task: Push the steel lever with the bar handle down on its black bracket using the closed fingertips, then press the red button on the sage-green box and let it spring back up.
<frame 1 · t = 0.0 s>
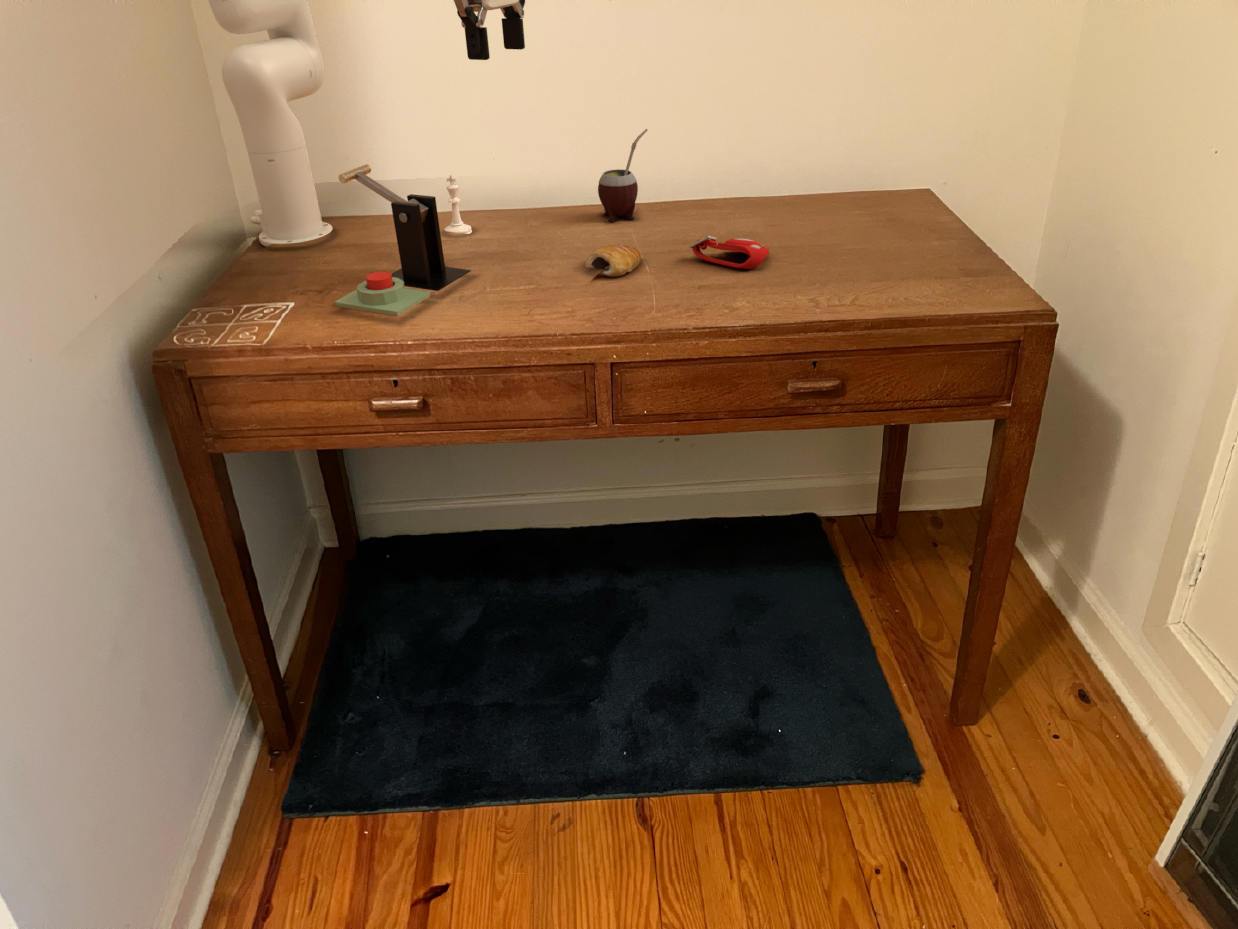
hand: (497, 53, 129), 31 cm above the table, tool pointing down, fingers open, 9 cm apart
mate gourd: (621, 218, 166), on the table
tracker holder: (731, 261, 145), on the table
lever: (386, 193, 135), point 13 cm above the table, hinge at 26.0°
chess piece: (458, 233, 161), on the table
pastry: (613, 270, 143), on the table
button box: (384, 307, 132), on the table
bracket: (425, 282, 140), on the table
button: (379, 281, 130), point 4 cm above the table, slide at 0.1 cm
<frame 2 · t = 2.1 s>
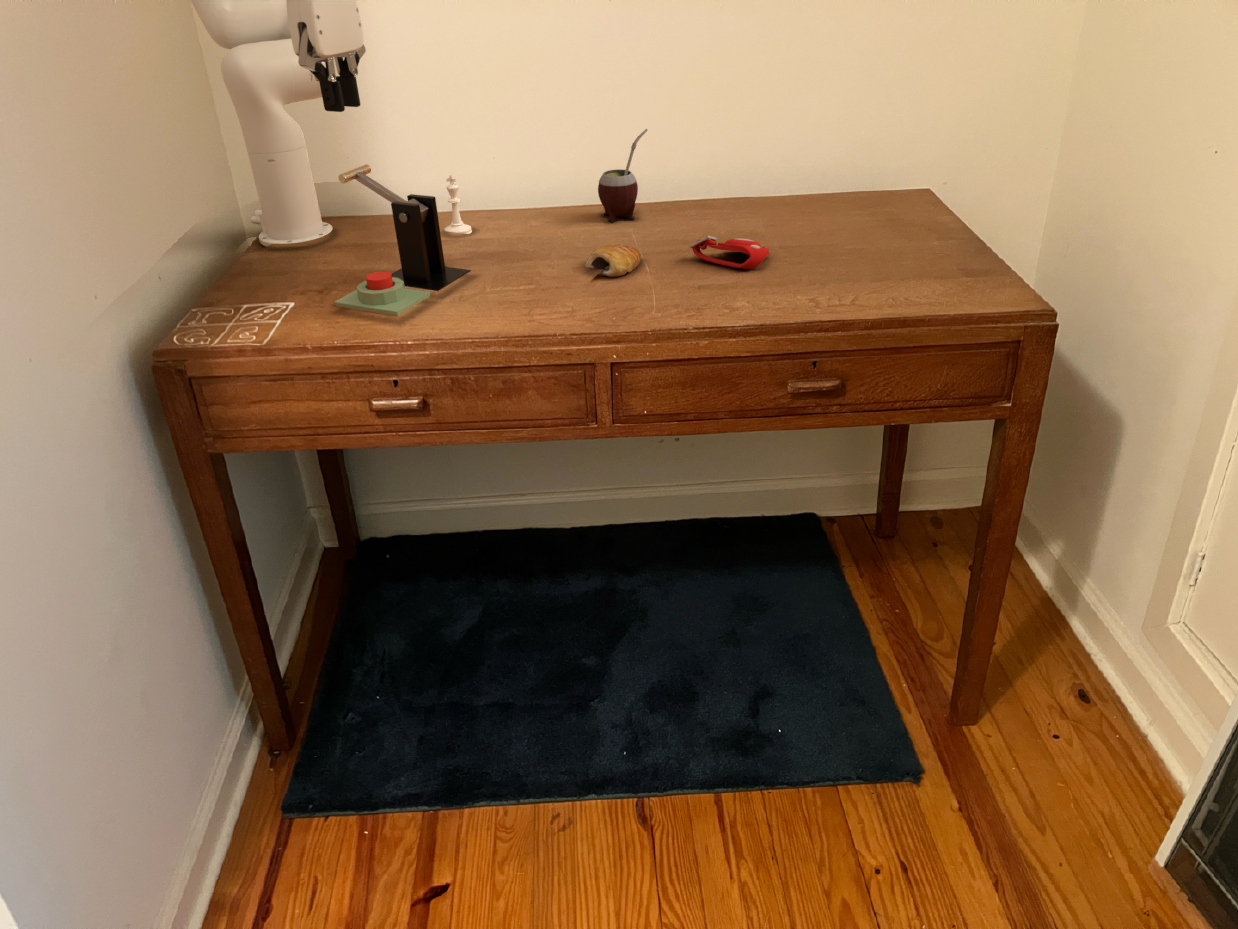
hand: (342, 107, 131), 25 cm above the table, tool pointing down, fingers closed
nothing on the table moved.
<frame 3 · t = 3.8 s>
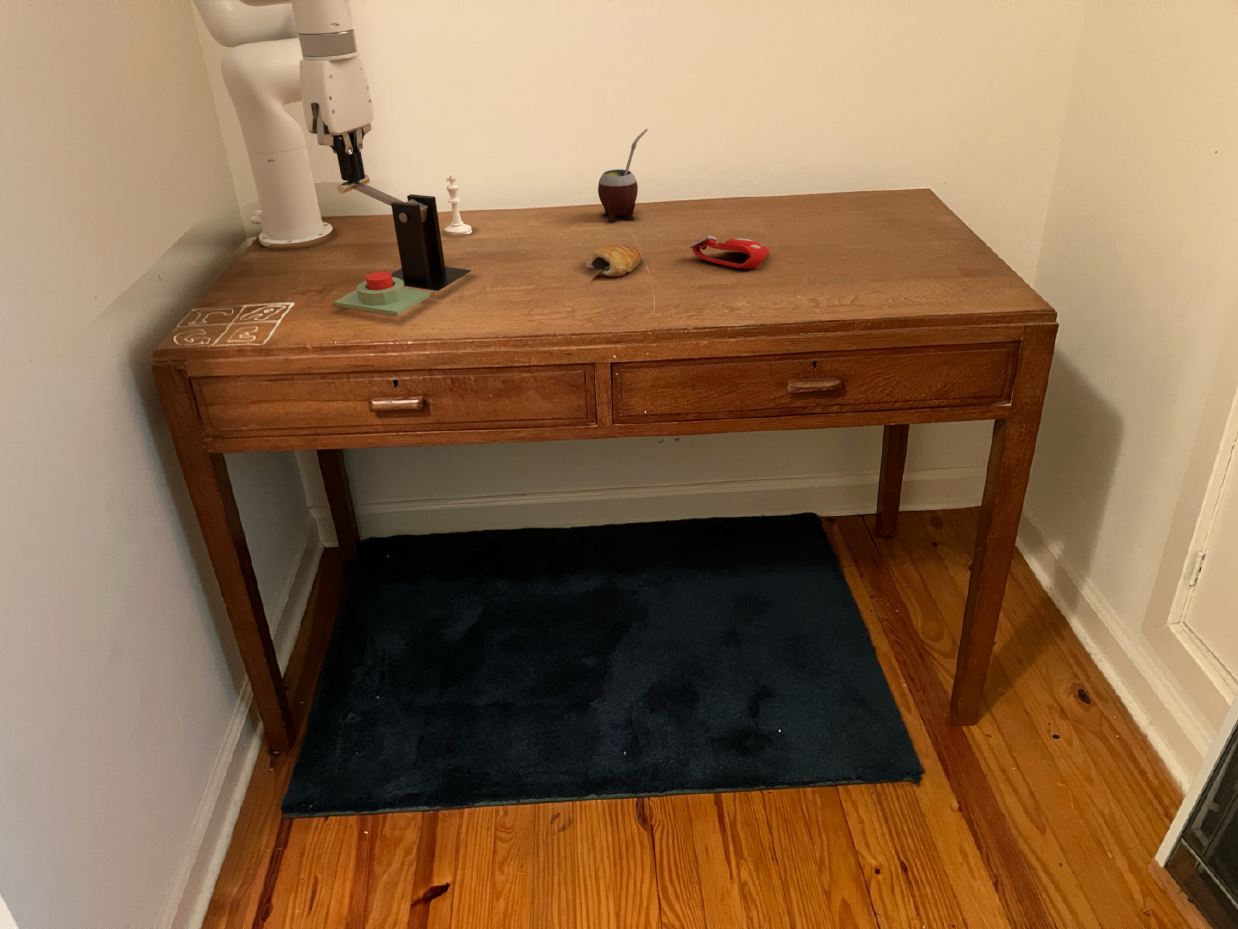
hand: (353, 179, 136), 15 cm above the table, tool pointing down, fingers closed
lever: (386, 198, 136), point 13 cm above the table, hinge at 17.3°, touching gripper
everything else where it was.
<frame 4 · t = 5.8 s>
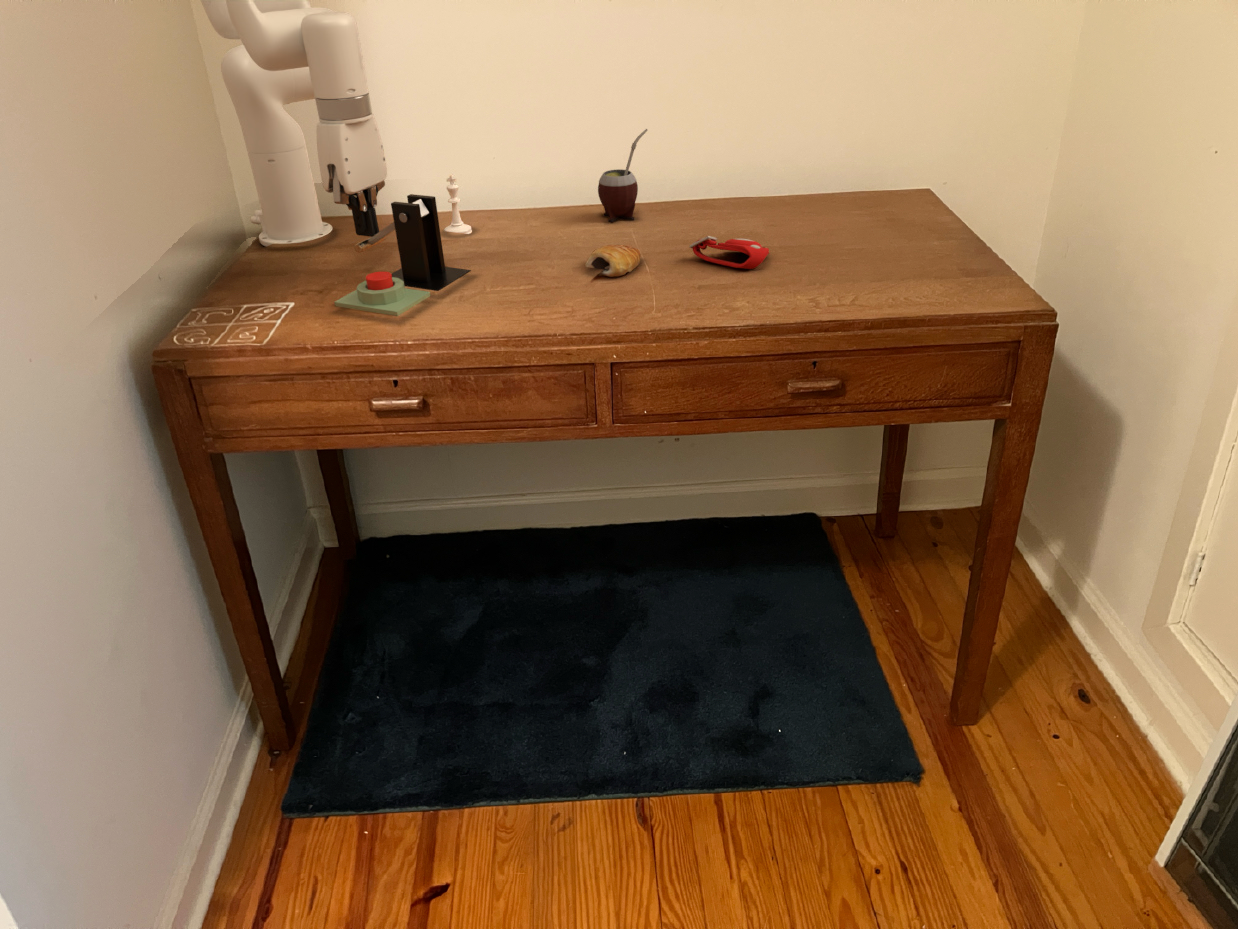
hand: (368, 234, 140), 7 cm above the table, tool pointing down, fingers closed
lever: (393, 226, 138), point 8 cm above the table, hinge at -30.8°, touching gripper
everything else where it was.
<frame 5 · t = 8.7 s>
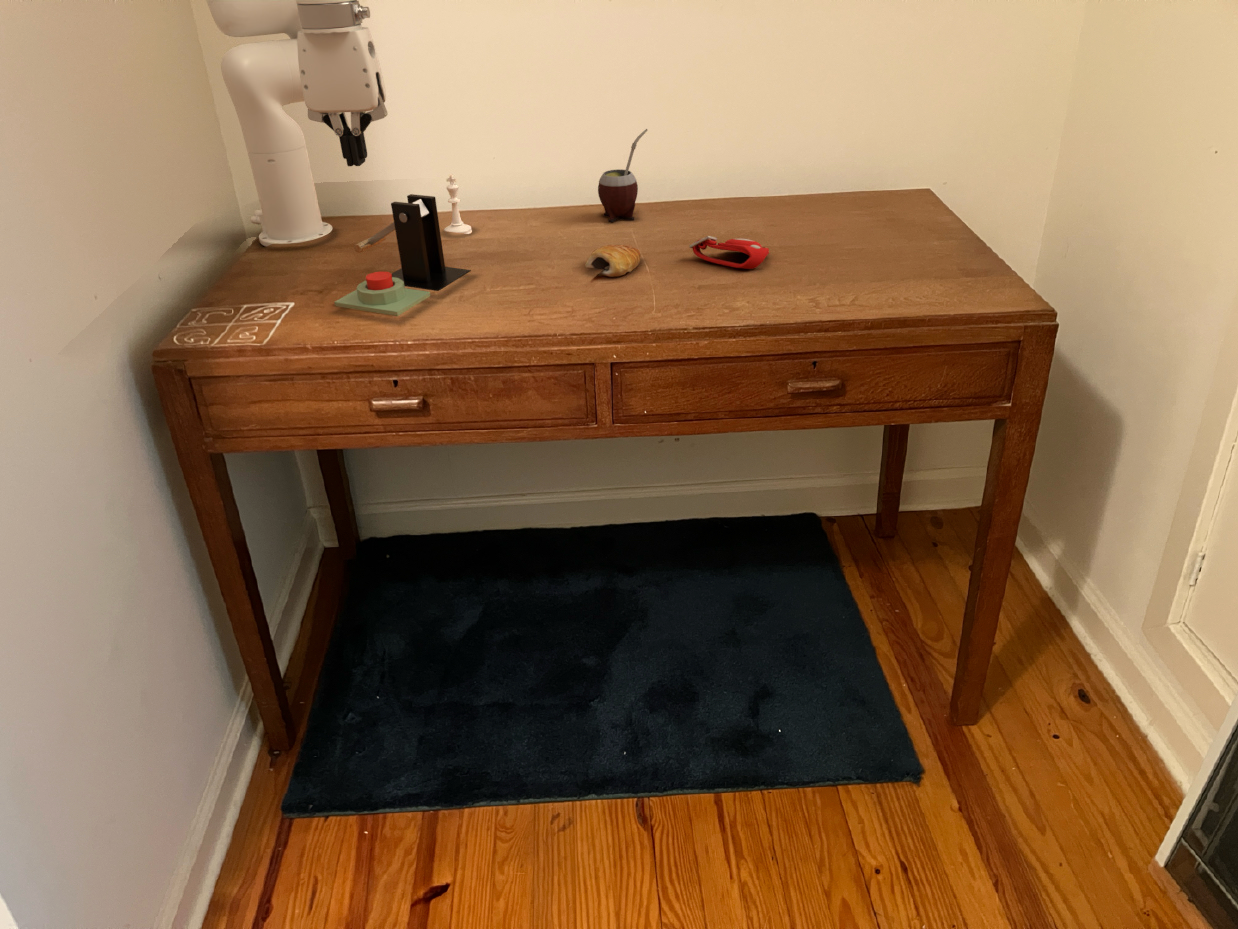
hand: (356, 163, 127), 19 cm above the table, tool pointing down, fingers closed
lever: (393, 226, 138), point 8 cm above the table, hinge at -30.8°
everything else where it was.
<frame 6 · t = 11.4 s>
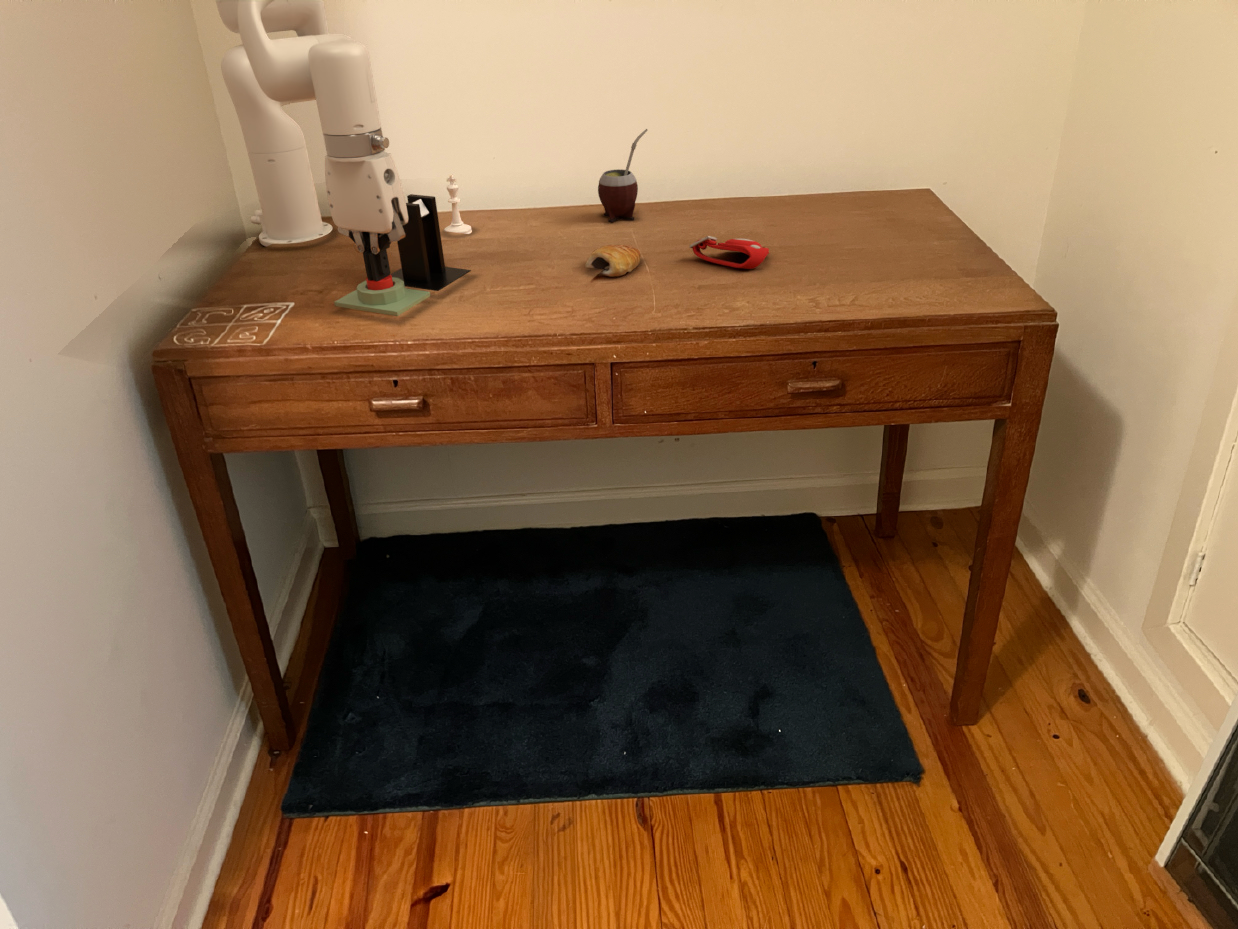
hand: (379, 277, 130), 5 cm above the table, tool pointing down, fingers closed
button: (379, 283, 130), point 4 cm above the table, slide at -0.1 cm, touching gripper
everything else where it was.
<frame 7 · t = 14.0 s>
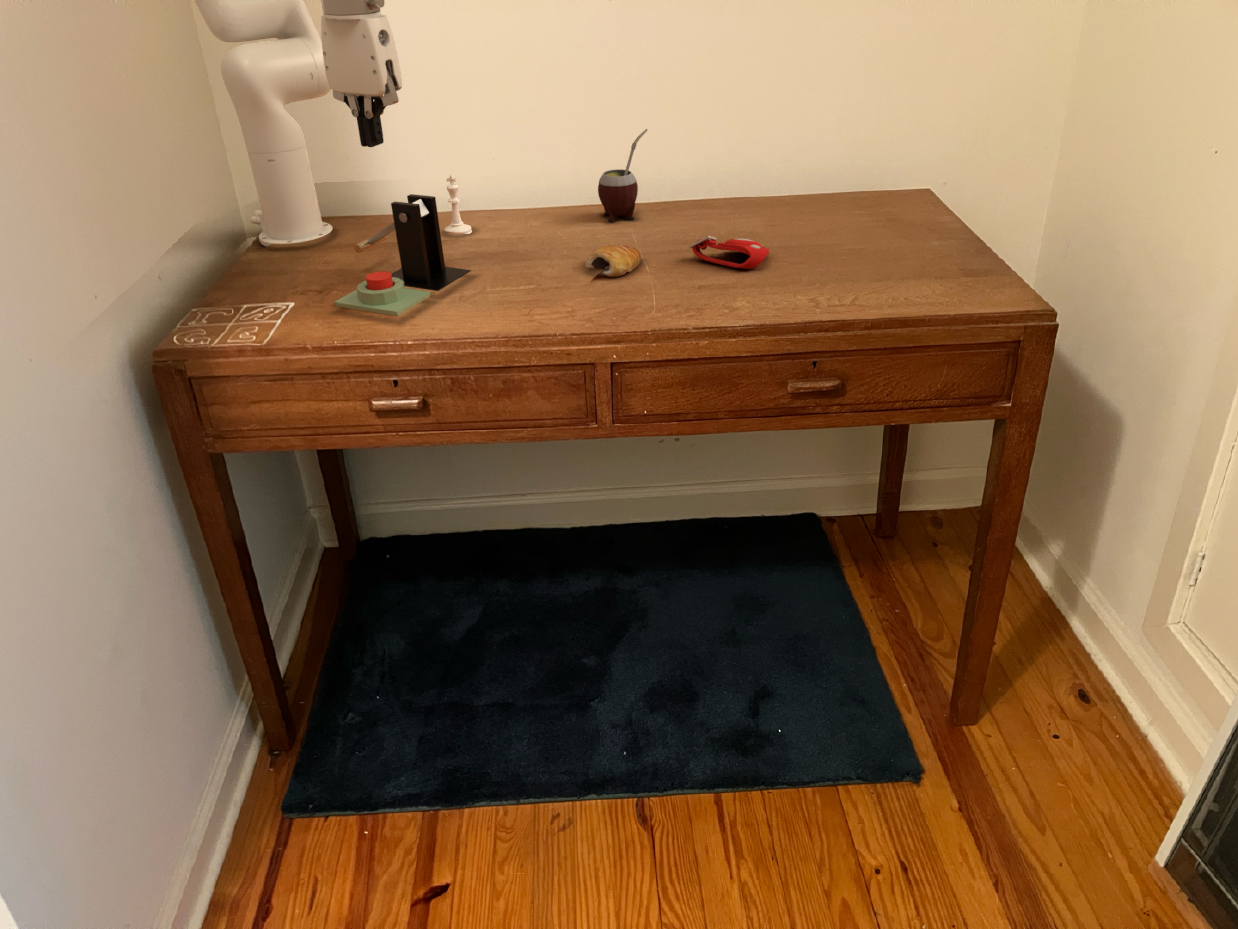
hand: (372, 144, 133), 20 cm above the table, tool pointing down, fingers closed
button: (379, 281, 130), point 4 cm above the table, slide at 0.1 cm
everything else where it was.
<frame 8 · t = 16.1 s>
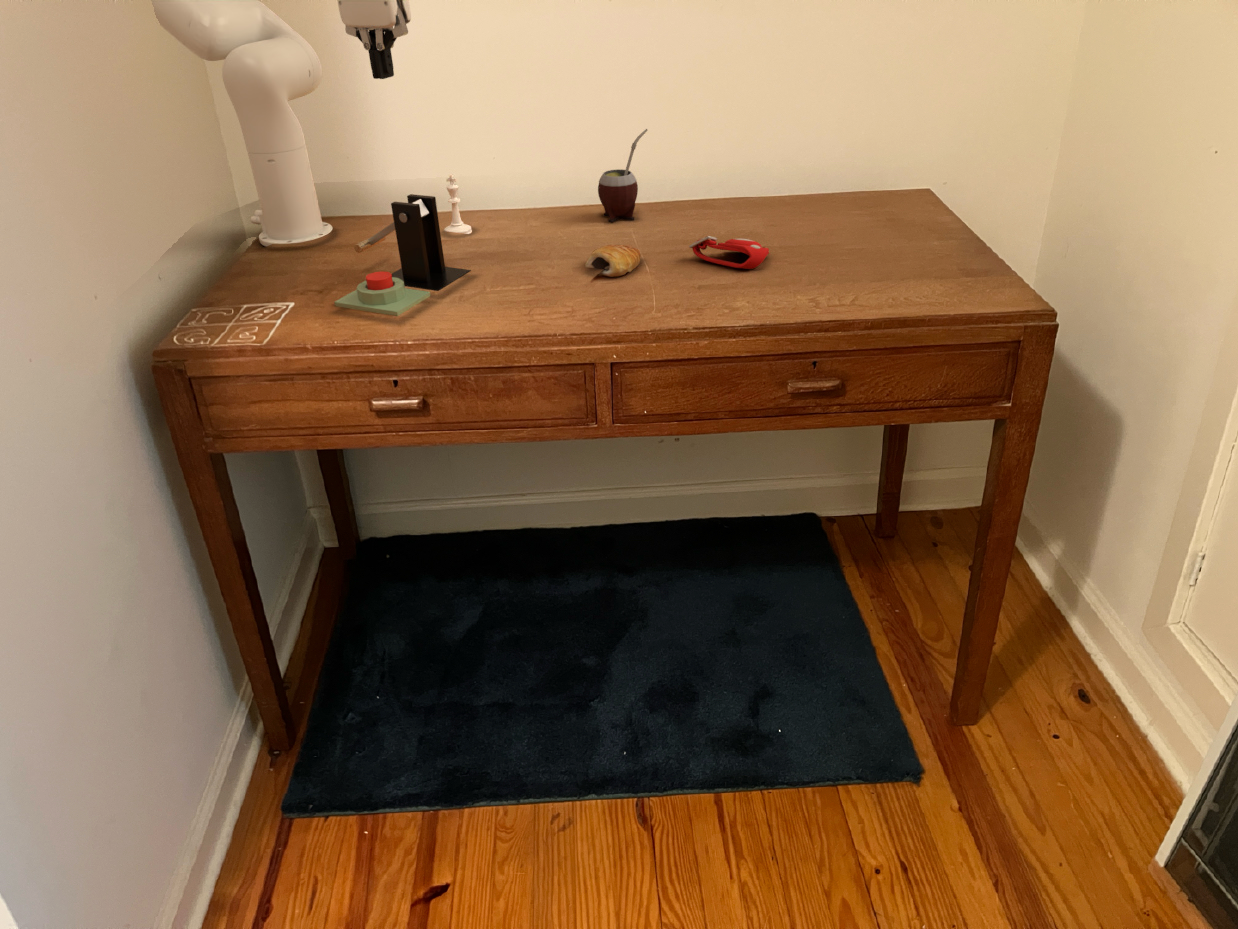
hand: (383, 77, 140), 27 cm above the table, tool pointing down, fingers closed
nothing on the table moved.
at the end: lever at -31° (first picture: +26°); button pushed in 1.1 cm at the most during the clip, back to where it started at the end; button slide at 0.1 cm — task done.
